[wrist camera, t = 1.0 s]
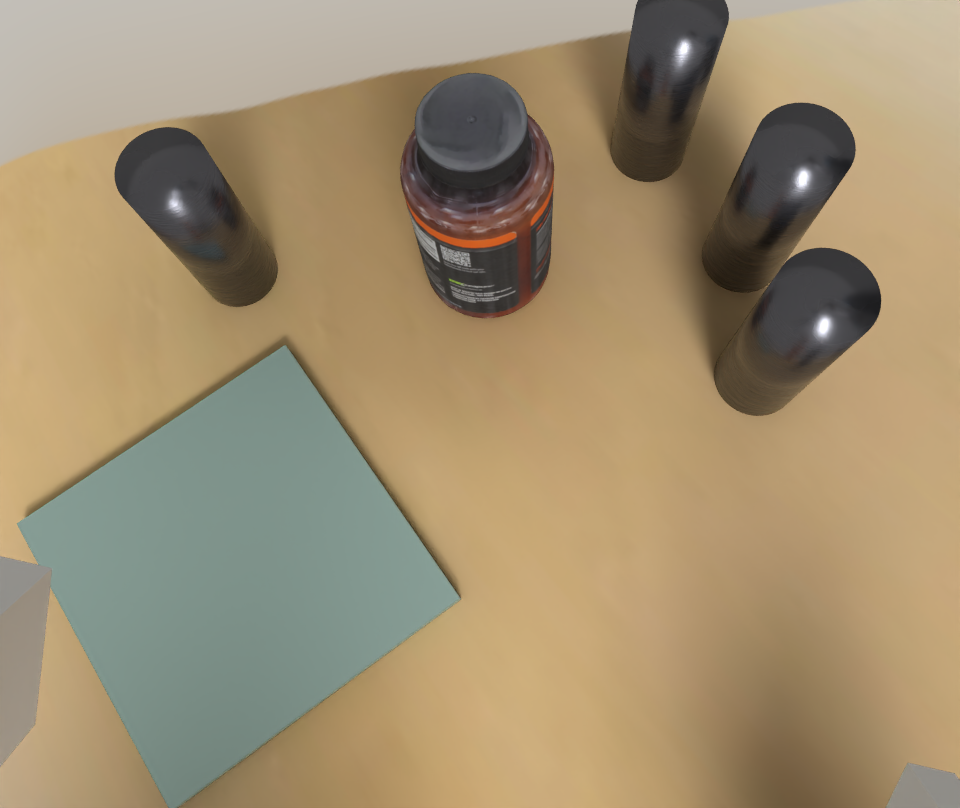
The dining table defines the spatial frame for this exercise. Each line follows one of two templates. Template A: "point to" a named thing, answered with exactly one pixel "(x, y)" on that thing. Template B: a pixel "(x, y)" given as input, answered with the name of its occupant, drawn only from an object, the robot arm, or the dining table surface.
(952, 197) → the dining table surface
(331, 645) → the board
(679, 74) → the spacer posts
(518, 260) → the supplement bottle
